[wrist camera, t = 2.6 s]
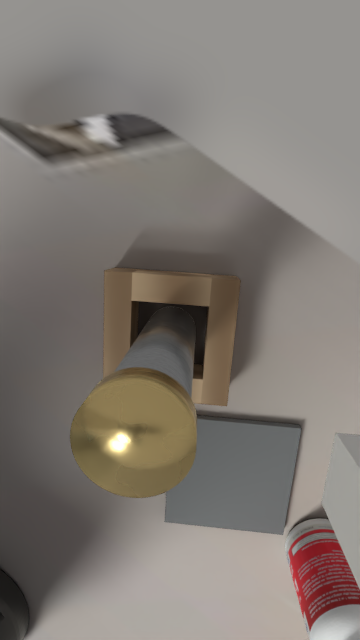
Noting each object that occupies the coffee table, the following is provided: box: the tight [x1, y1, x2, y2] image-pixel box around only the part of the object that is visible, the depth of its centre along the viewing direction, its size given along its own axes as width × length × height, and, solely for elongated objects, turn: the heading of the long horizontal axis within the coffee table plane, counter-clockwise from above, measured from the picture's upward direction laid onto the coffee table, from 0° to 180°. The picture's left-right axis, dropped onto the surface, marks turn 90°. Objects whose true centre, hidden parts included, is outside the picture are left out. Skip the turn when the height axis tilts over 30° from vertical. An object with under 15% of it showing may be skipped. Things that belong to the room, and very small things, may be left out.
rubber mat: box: [165, 415, 301, 535], centre depth 29 cm, size 11×11×1 cm
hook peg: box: [70, 306, 197, 498], centre depth 19 cm, size 5×5×16 cm
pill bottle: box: [285, 518, 360, 640], centre depth 25 cm, size 6×6×11 cm
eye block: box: [103, 267, 241, 406], centre depth 25 cm, size 10×10×3 cm
